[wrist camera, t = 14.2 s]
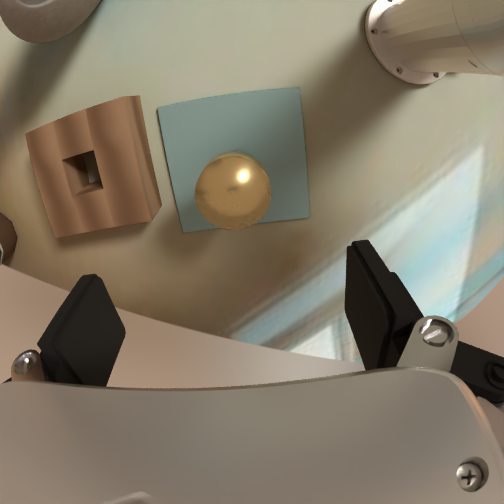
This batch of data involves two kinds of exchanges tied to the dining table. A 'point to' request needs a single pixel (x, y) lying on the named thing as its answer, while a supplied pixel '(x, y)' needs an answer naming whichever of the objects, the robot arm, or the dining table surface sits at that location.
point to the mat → (238, 147)
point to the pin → (233, 190)
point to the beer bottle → (6, 238)
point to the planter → (44, 17)
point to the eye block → (109, 164)
